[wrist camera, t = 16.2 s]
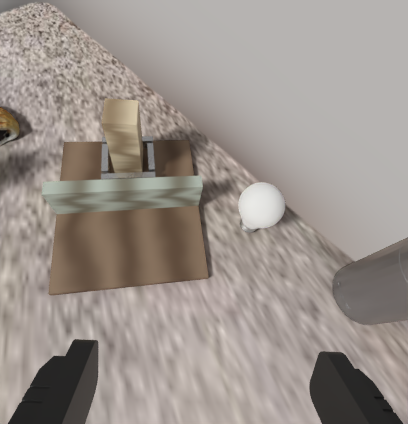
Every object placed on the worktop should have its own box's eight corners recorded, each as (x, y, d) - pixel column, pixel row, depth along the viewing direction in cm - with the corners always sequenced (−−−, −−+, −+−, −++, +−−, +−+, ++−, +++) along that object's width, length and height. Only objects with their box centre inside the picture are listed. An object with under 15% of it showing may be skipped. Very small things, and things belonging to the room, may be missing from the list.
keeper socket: (152, 143, 51) (152, 136, 49) (155, 183, 47) (155, 176, 46) (104, 144, 50) (102, 137, 48) (103, 185, 46) (101, 179, 44)
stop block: (143, 154, 50) (138, 100, 39) (142, 175, 48) (136, 124, 37) (117, 153, 49) (105, 98, 39) (115, 174, 47) (101, 123, 37)
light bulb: (221, 232, 46) (236, 199, 36) (238, 202, 49) (257, 165, 39) (256, 252, 45) (282, 225, 36) (272, 221, 48) (299, 188, 39)
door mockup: (188, 143, 54) (191, 116, 47) (207, 278, 42) (215, 266, 36) (65, 146, 50) (52, 116, 43) (51, 295, 38) (29, 284, 32)
